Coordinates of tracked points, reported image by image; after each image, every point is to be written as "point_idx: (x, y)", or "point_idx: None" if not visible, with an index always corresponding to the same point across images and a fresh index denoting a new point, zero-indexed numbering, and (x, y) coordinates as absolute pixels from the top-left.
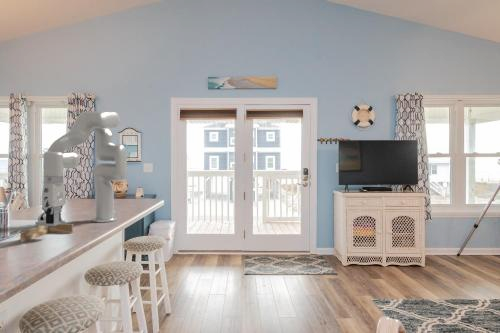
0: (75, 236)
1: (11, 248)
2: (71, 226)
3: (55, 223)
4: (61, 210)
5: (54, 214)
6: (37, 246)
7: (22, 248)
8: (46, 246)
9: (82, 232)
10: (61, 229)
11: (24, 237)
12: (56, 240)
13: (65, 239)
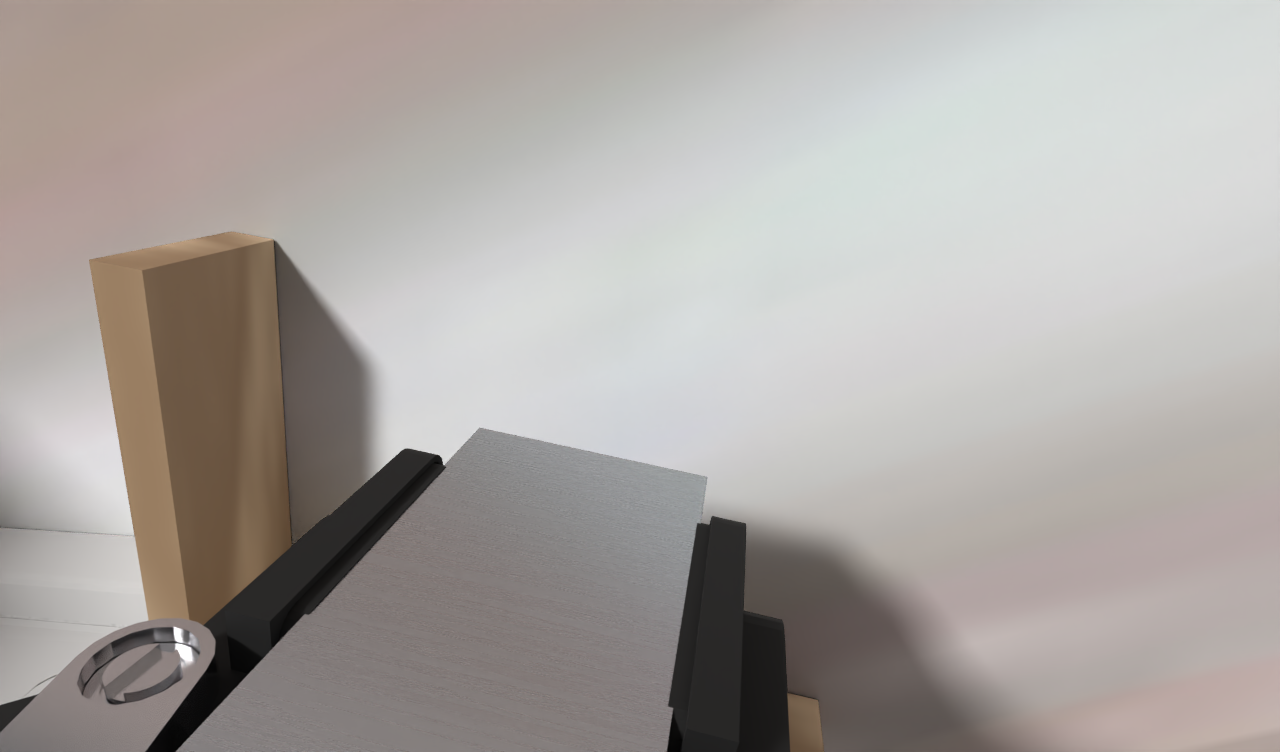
0: (497, 66)
1: (1188, 722)
2: (178, 269)
3: (632, 488)
4: (77, 657)
5: (631, 707)
6: (1181, 443)
7: (1248, 601)
8: (1239, 299)
9: (188, 64)
10: (243, 432)
11: (797, 743)
12: (787, 298)
13: (728, 165)
